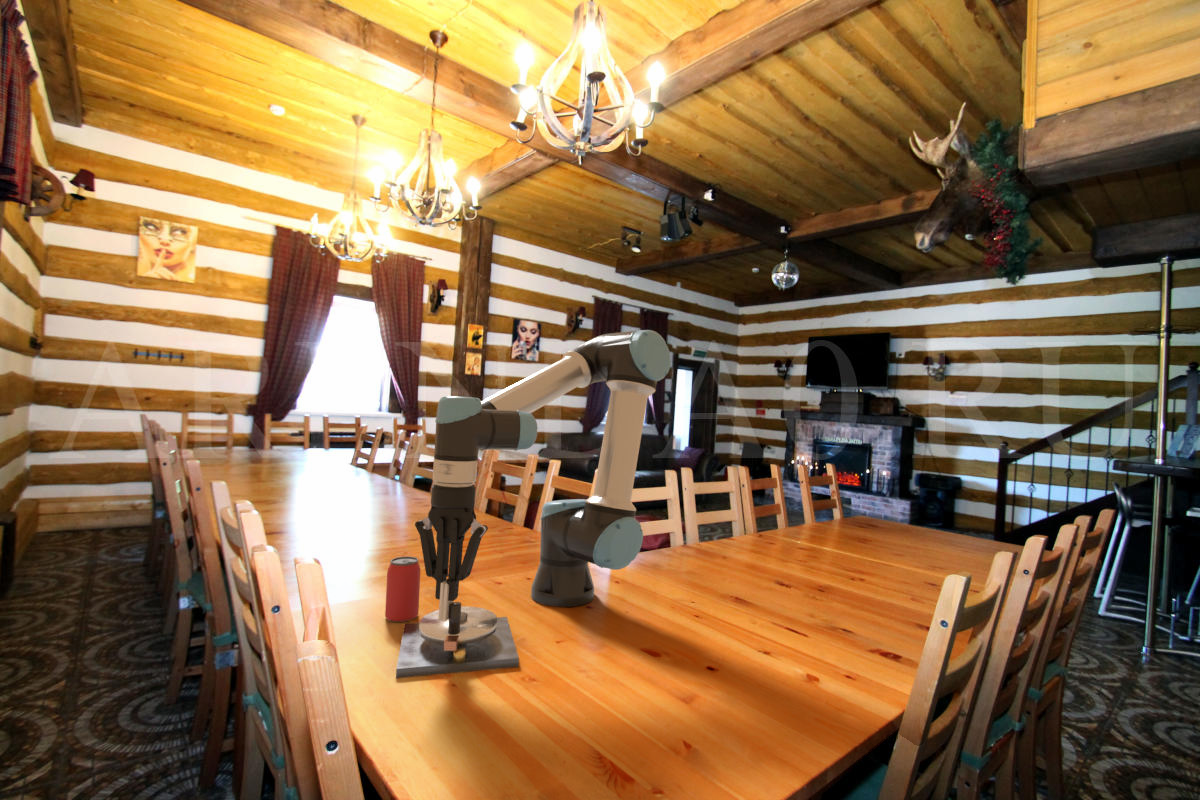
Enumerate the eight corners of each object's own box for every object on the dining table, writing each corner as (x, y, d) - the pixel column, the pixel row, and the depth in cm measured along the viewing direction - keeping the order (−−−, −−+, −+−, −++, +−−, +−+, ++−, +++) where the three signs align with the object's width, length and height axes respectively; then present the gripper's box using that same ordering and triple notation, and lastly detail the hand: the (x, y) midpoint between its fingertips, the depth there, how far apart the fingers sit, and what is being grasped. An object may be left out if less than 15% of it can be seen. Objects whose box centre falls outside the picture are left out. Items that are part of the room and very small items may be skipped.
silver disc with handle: (427, 614, 107) (429, 580, 107) (499, 614, 108) (501, 581, 108) (407, 650, 90) (409, 611, 91) (492, 650, 92) (493, 611, 92)
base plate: (506, 624, 112) (507, 607, 112) (518, 666, 94) (519, 646, 94) (404, 631, 107) (405, 613, 107) (395, 678, 88) (396, 656, 88)
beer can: (407, 625, 110) (410, 565, 110) (378, 621, 111) (381, 562, 111) (424, 613, 116) (426, 557, 116) (396, 610, 117) (399, 554, 118)
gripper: (409, 483, 93) (400, 621, 92) (480, 489, 91) (470, 631, 90) (430, 478, 100) (422, 606, 100) (496, 484, 98) (487, 615, 97)
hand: (445, 618), depth 95 cm, fingers closed
